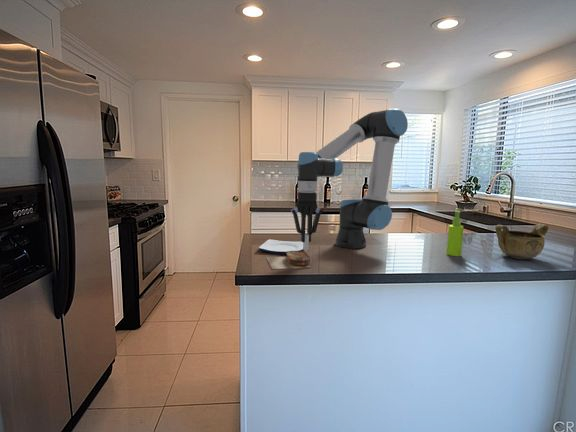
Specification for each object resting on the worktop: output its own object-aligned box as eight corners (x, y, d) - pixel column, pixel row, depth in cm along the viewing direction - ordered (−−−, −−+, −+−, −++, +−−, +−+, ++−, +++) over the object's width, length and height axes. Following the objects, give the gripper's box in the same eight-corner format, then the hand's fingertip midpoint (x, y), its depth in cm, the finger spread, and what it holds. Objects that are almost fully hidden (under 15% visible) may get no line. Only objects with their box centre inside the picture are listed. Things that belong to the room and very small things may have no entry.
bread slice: (312, 260, 129) (291, 259, 127) (311, 267, 129) (290, 267, 128) (304, 250, 144) (284, 249, 142) (303, 257, 144) (284, 256, 142)
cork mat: (300, 256, 144) (300, 256, 144) (310, 267, 129) (310, 267, 129) (266, 258, 141) (266, 257, 141) (272, 269, 125) (272, 268, 125)
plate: (300, 257, 145) (301, 251, 144) (255, 254, 149) (255, 248, 148) (307, 246, 165) (307, 241, 164) (267, 243, 168) (267, 238, 168)
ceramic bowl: (527, 252, 157) (530, 221, 155) (559, 263, 140) (564, 227, 138) (482, 253, 155) (485, 221, 153) (509, 263, 138) (513, 227, 136)
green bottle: (460, 253, 154) (464, 210, 151) (461, 256, 148) (465, 212, 145) (446, 251, 156) (450, 209, 153) (446, 255, 150) (450, 211, 147)
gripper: (293, 192, 127) (292, 252, 130) (326, 192, 130) (324, 251, 133) (289, 191, 134) (288, 248, 138) (320, 191, 137) (318, 247, 141)
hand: (305, 249), depth 135 cm, fingers closed
